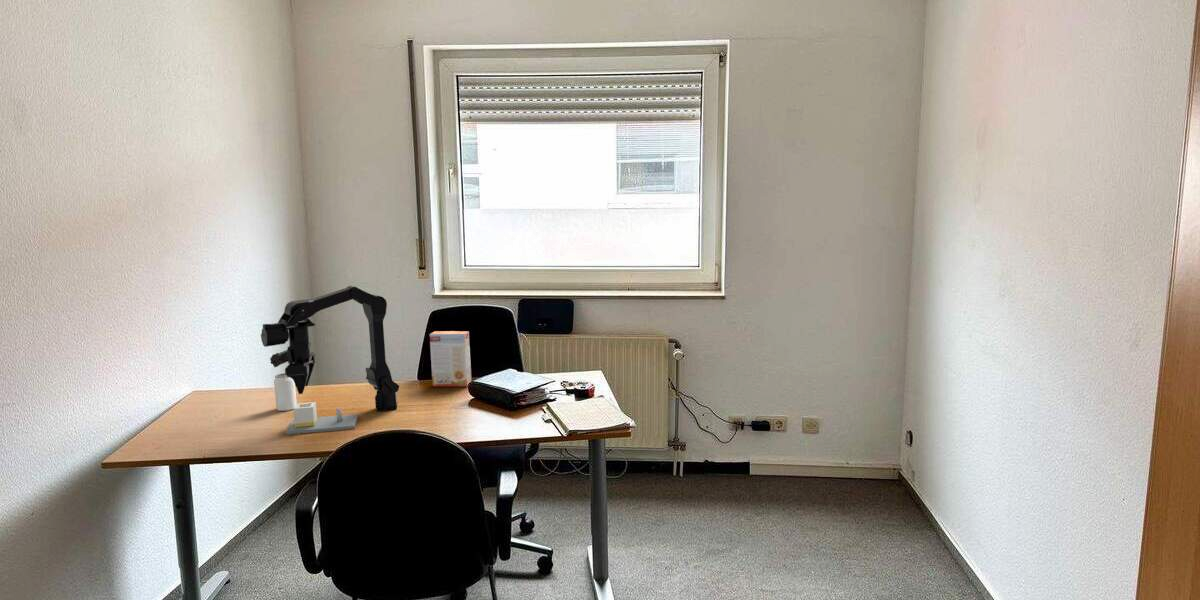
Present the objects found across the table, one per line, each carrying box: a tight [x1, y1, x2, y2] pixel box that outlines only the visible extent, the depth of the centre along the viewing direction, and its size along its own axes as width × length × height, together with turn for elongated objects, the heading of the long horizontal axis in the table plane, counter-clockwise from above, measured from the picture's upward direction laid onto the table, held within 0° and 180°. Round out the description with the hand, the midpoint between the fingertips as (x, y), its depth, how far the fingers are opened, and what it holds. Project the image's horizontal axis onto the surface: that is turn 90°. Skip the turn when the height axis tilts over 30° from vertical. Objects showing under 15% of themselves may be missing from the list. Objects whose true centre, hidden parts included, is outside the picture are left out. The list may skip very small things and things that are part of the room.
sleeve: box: [293, 401, 318, 427], centre depth 213 cm, size 6×6×6 cm
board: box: [285, 407, 359, 436], centre depth 215 cm, size 20×12×5 cm, turn 105°
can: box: [273, 373, 298, 412], centre depth 232 cm, size 6×6×12 cm
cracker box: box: [429, 330, 472, 388], centre depth 258 cm, size 14×6×21 cm, turn 83°
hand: (303, 389), depth 212 cm, fingers open, 9 cm apart
